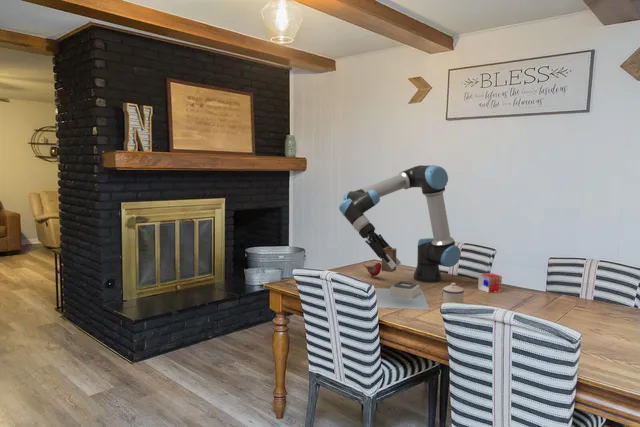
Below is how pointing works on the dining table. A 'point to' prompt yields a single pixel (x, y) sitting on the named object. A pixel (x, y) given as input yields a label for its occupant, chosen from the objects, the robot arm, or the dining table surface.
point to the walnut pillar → (392, 255)
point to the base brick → (405, 289)
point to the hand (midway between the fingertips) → (396, 265)
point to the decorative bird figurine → (374, 269)
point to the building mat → (400, 300)
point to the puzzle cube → (489, 282)
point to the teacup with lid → (452, 293)
